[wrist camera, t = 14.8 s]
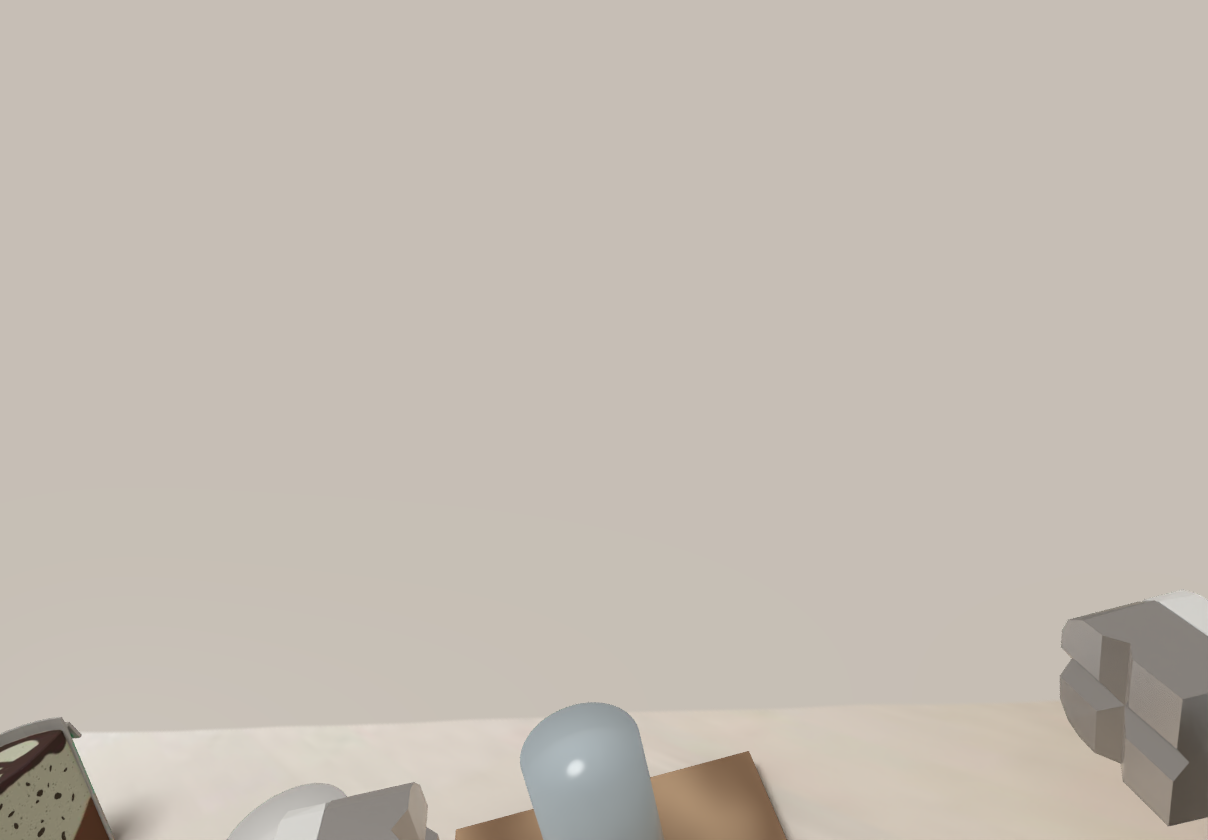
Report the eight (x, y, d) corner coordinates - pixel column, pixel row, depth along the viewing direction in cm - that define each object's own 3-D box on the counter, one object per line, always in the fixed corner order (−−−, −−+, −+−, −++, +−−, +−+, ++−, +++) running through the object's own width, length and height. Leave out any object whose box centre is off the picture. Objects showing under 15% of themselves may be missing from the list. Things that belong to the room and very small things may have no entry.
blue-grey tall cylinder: (578, 984, 36) (522, 811, 32) (567, 880, 41) (518, 719, 37) (691, 952, 37) (650, 777, 33) (666, 853, 42) (628, 690, 38)
